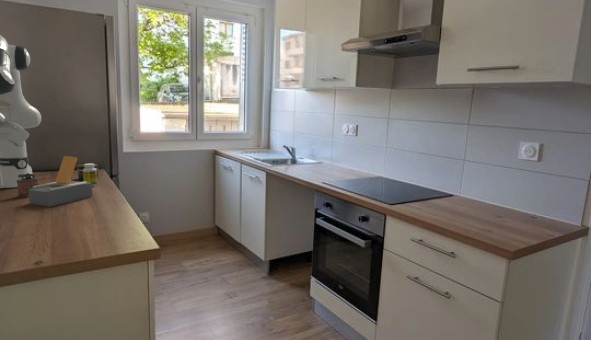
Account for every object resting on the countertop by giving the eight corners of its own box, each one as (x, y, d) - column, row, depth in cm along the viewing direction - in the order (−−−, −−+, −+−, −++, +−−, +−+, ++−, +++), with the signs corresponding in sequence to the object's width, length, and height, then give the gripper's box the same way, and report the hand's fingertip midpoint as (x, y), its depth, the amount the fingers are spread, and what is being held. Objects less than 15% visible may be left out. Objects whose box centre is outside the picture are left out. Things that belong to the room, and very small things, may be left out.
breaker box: (29, 203, 159) (27, 186, 158) (73, 193, 177) (72, 178, 176) (49, 206, 155) (47, 189, 153) (92, 196, 173) (91, 180, 172)
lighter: (38, 193, 176) (36, 171, 175) (40, 194, 174) (38, 173, 172) (17, 196, 171) (15, 173, 169) (18, 197, 169) (16, 175, 167)
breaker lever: (54, 182, 165) (64, 155, 168) (58, 183, 167) (68, 157, 170) (64, 183, 163) (73, 156, 166) (68, 184, 165) (77, 158, 168)
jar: (102, 178, 214) (101, 164, 213) (85, 181, 205) (84, 167, 204) (90, 176, 218) (89, 163, 217) (74, 179, 210) (72, 165, 208)
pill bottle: (91, 187, 191) (90, 165, 189) (80, 186, 193) (79, 164, 191) (100, 184, 197) (98, 163, 195) (89, 183, 199) (88, 162, 197)
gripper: (14, 114, 135) (44, 140, 146) (-22, 113, 143) (9, 137, 153) (2, 128, 132) (33, 153, 142) (-34, 126, 139) (-2, 150, 150)
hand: (20, 145), depth 148 cm, fingers closed
